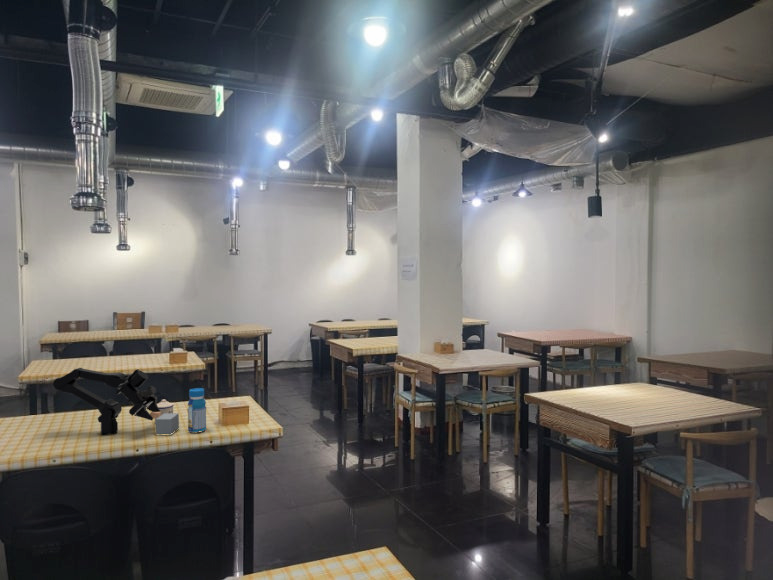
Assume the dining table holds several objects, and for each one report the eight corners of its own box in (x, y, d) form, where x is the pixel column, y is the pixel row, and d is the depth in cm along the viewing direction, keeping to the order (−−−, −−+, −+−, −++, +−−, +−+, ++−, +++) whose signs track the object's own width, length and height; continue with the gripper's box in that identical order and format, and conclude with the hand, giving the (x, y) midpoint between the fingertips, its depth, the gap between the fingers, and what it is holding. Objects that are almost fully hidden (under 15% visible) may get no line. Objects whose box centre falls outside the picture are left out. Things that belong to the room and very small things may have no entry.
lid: (146, 420, 241) (146, 415, 241) (155, 414, 251) (155, 409, 251) (170, 420, 241) (170, 415, 241) (178, 414, 251) (178, 409, 251)
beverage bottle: (200, 434, 243) (199, 391, 243) (184, 433, 245) (183, 391, 244) (209, 429, 251) (209, 388, 251) (194, 428, 253) (193, 387, 253)
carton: (155, 435, 241) (155, 420, 241) (164, 429, 251) (164, 414, 251) (171, 435, 241) (170, 420, 241) (178, 429, 251) (178, 414, 251)
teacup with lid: (169, 425, 258) (169, 401, 258) (151, 425, 258) (150, 402, 257) (178, 418, 270) (178, 396, 270) (160, 418, 270) (160, 396, 269)
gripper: (135, 386, 236) (160, 409, 237) (152, 378, 255) (175, 400, 255) (118, 403, 236) (143, 427, 236) (136, 394, 254) (159, 416, 255)
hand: (156, 416), depth 246 cm, fingers open, 9 cm apart
